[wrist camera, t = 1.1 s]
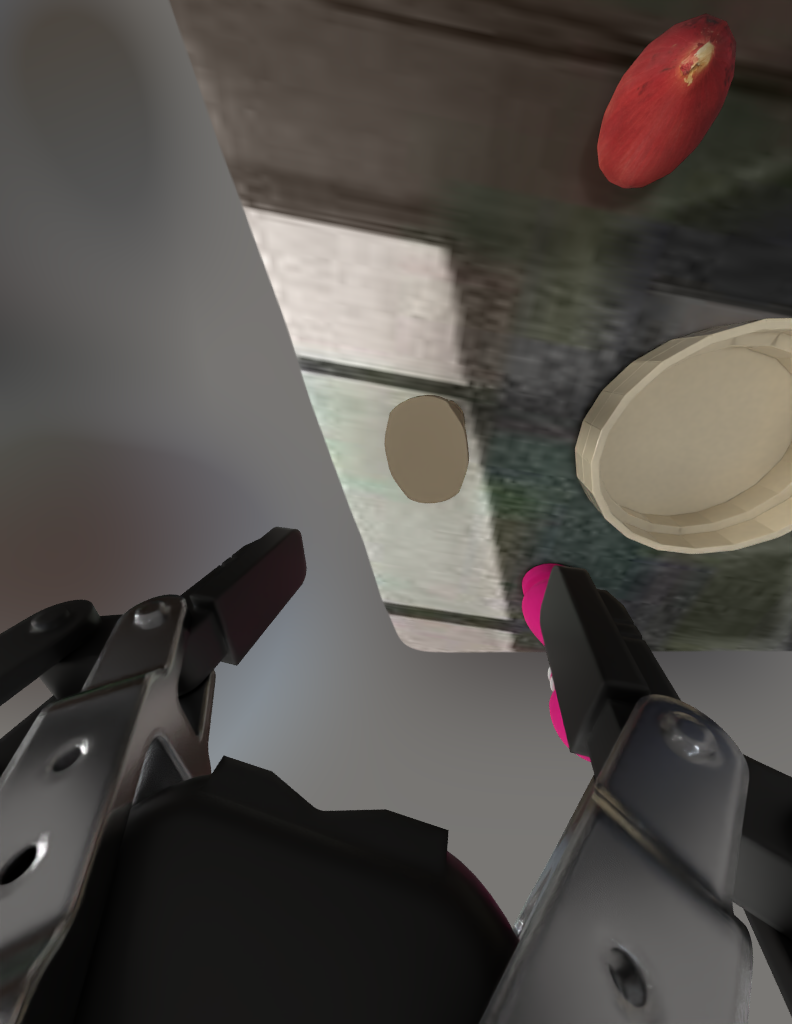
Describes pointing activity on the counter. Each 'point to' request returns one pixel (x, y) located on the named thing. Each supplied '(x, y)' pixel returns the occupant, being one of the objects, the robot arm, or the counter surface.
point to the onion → (666, 102)
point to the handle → (427, 448)
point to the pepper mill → (531, 606)
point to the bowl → (696, 441)
